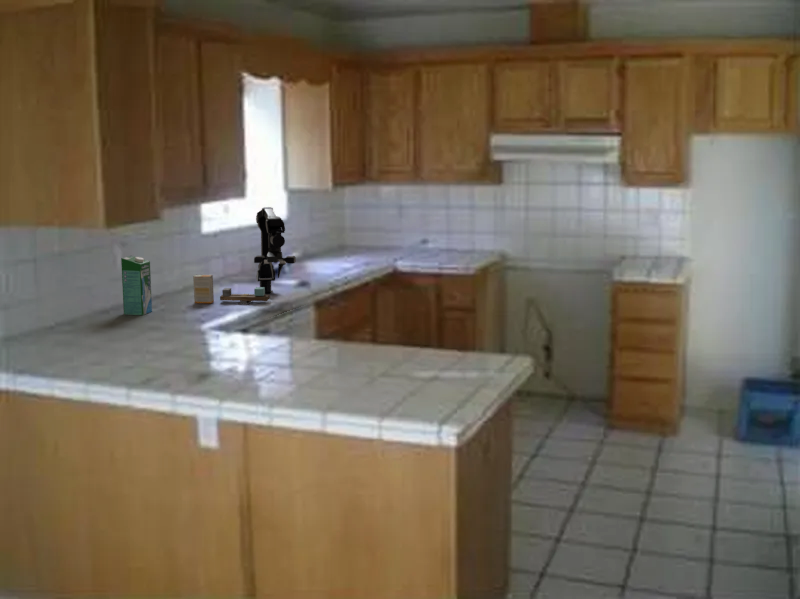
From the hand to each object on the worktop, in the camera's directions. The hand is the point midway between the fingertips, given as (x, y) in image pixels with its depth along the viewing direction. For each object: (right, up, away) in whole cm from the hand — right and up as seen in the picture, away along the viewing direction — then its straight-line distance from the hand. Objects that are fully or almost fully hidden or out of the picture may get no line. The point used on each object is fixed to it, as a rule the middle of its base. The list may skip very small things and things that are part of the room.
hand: (275, 277), depth 431 cm
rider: (-8, -10, +2) cm, 13 cm away
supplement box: (-34, -12, +2) cm, 36 cm away
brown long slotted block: (-15, -12, +3) cm, 19 cm away
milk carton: (-58, -16, -23) cm, 64 cm away
